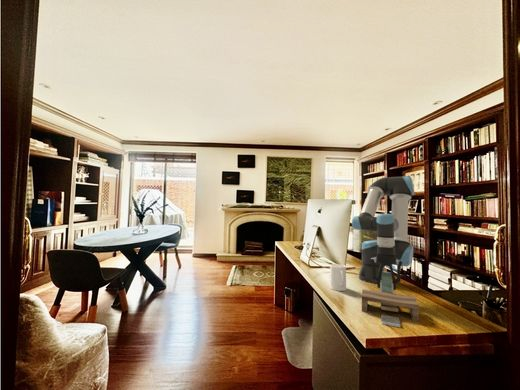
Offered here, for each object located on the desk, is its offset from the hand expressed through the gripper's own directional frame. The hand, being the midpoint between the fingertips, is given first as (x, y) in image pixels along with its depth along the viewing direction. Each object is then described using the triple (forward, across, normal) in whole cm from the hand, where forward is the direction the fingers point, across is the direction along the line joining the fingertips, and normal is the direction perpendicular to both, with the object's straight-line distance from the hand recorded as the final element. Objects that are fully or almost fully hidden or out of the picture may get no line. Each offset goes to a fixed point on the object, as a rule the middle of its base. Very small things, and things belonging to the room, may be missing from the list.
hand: (386, 295), depth 115 cm
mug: (+2, -22, +3) cm, 22 cm away
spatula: (+1, 0, -9) cm, 9 cm away
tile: (+2, 0, -26) cm, 27 cm away
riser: (+1, 0, -16) cm, 16 cm away
